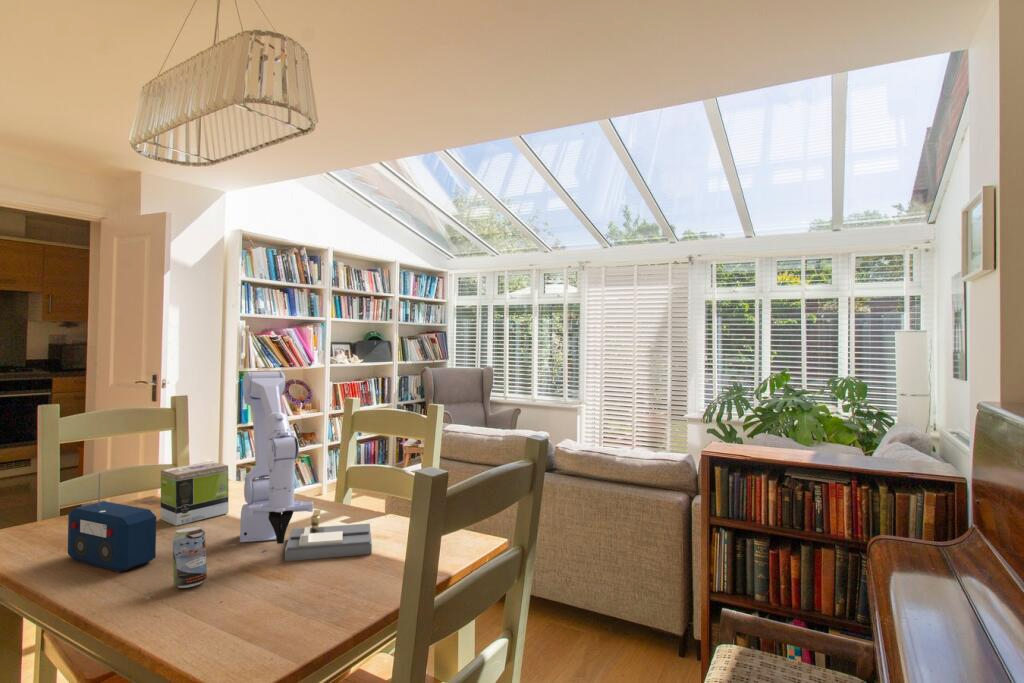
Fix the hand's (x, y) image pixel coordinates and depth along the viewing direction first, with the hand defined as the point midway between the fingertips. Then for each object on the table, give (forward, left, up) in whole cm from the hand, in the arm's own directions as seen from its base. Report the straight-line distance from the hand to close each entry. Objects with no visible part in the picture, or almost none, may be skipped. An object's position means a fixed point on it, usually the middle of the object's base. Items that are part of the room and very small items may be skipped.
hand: (280, 542), depth 136 cm
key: (+7, +11, 0) cm, 13 cm away
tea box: (-28, +37, -3) cm, 46 cm away
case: (+11, +4, -3) cm, 12 cm away
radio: (-38, +5, -3) cm, 38 cm away
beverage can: (-17, -13, -3) cm, 21 cm away
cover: (+9, 0, 0) cm, 9 cm away
